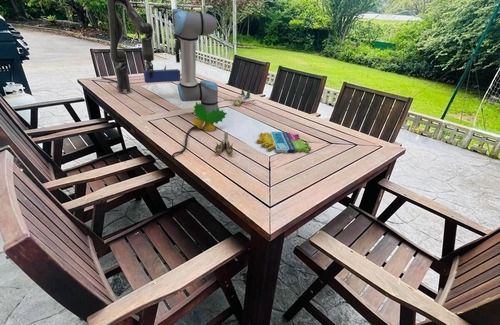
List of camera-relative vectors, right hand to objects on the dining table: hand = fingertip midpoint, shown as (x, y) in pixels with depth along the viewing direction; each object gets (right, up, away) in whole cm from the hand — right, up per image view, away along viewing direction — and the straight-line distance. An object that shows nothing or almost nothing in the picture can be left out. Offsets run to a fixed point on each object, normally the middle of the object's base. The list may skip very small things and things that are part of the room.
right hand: (180, 64), depth 201 cm
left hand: (-23, -10, 0) cm, 25 cm away
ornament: (+28, -55, -36) cm, 71 cm away
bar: (-16, -11, +6) cm, 21 cm away
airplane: (-42, +13, +75) cm, 87 cm away
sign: (+72, -65, -48) cm, 108 cm away
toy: (+46, -24, +20) cm, 56 cm away
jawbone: (+40, -70, -62) cm, 102 cm away
